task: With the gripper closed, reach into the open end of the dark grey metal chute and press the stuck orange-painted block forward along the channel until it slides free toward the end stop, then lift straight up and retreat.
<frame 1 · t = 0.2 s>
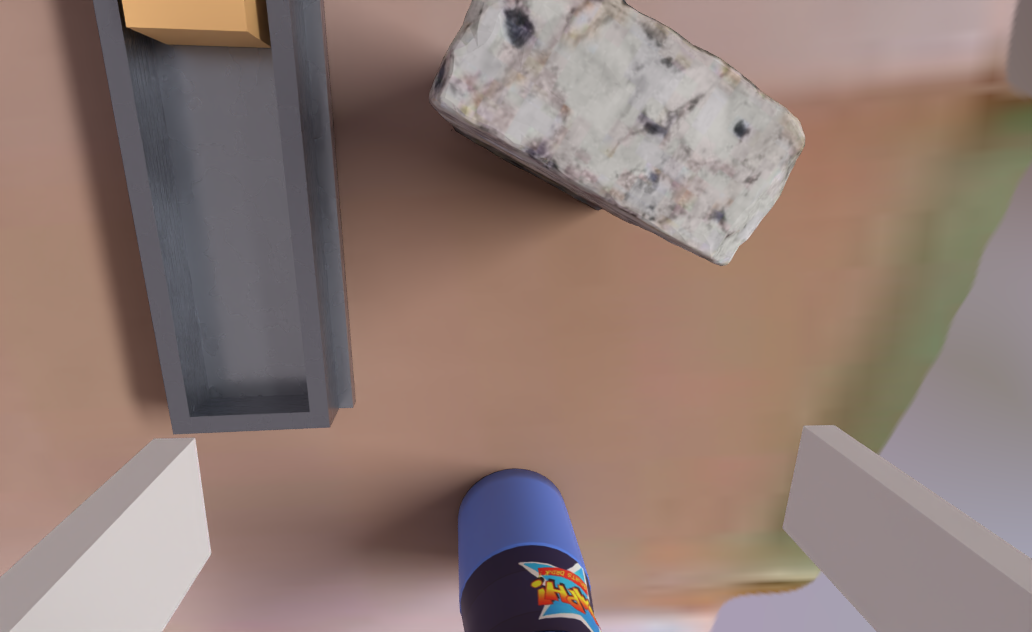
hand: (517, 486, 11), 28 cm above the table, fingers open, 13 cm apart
water bottle: (511, 514, 44), on the table
stone block: (543, 140, 36), on the table
chute: (244, 183, 35), on the table
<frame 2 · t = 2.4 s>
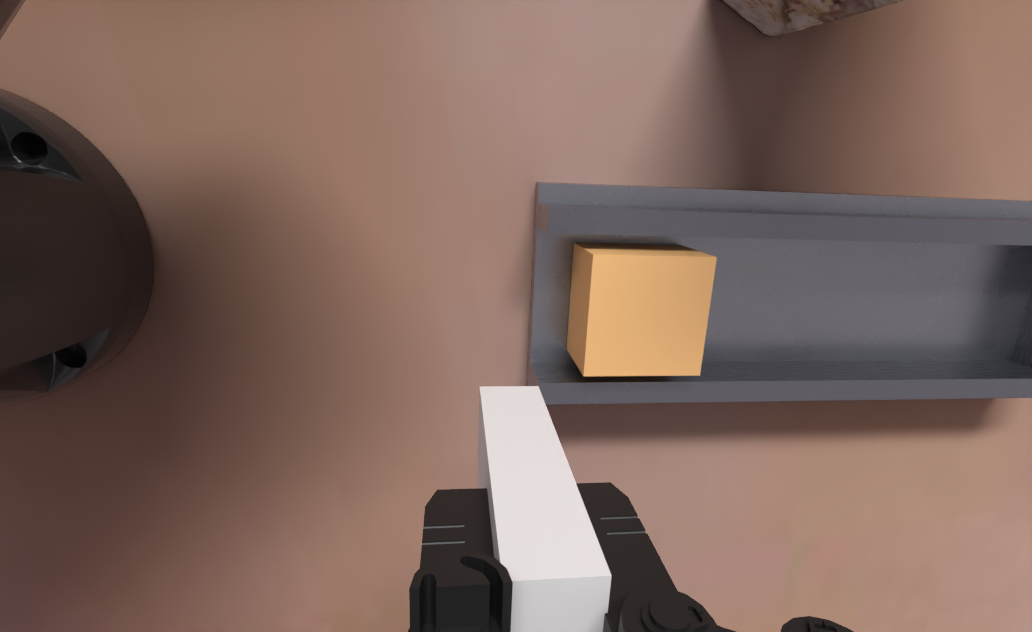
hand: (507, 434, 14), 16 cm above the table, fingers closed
block: (635, 307, 27), point 3 cm above the table, slide at 0.0 cm
chute: (795, 295, 31), on the table
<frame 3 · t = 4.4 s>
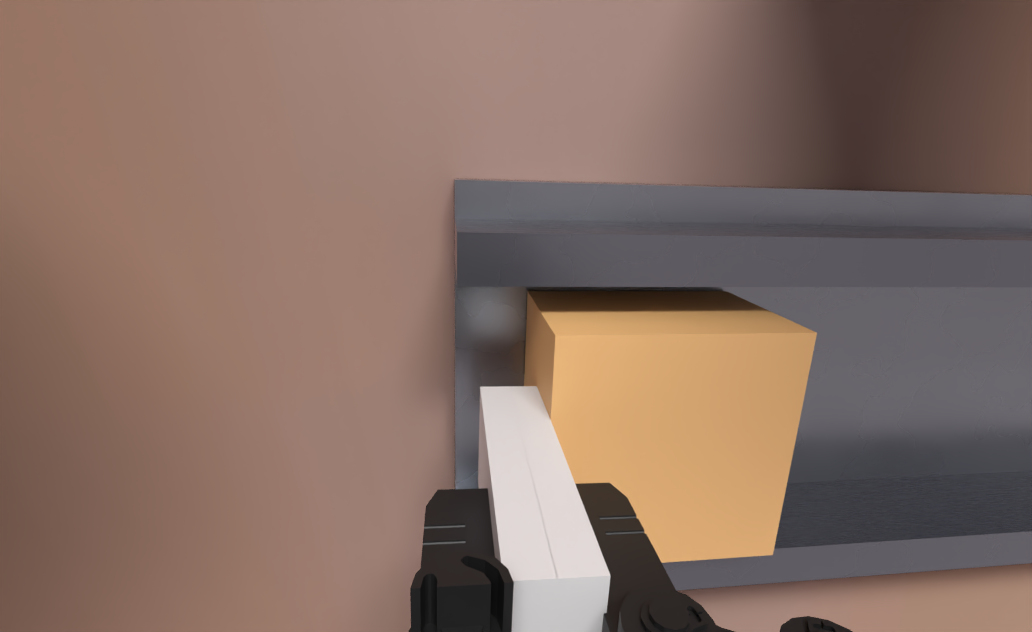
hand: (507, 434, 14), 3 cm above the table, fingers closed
block: (644, 416, 14), point 3 cm above the table, slide at 0.0 cm, touching gripper
chute: (910, 366, 18), on the table
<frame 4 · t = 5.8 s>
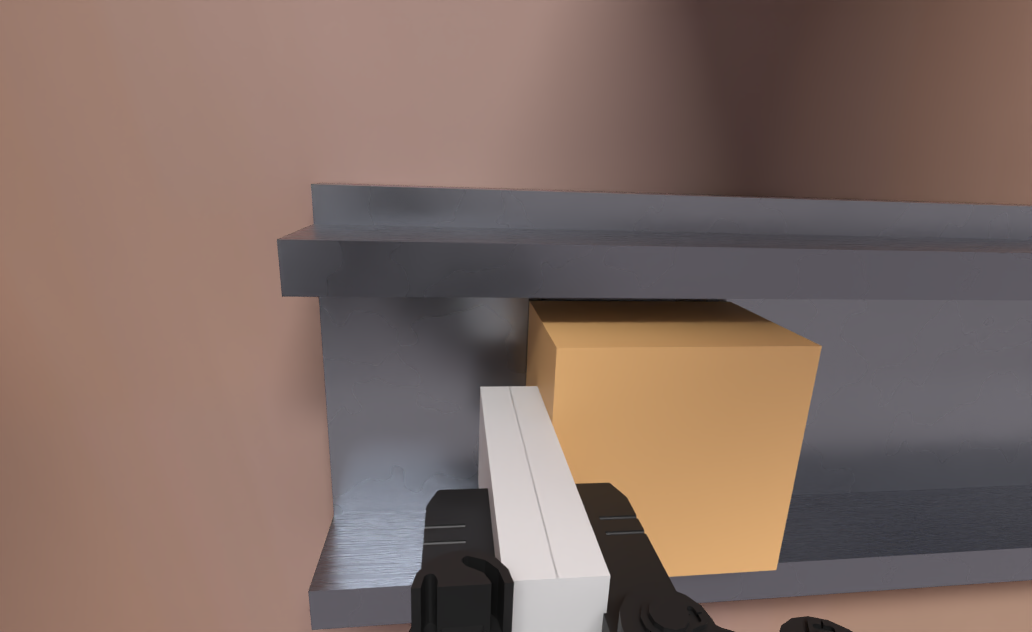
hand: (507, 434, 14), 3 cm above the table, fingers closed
block: (646, 428, 14), point 3 cm above the table, slide at 3.7 cm, touching gripper
chute: (819, 379, 18), on the table
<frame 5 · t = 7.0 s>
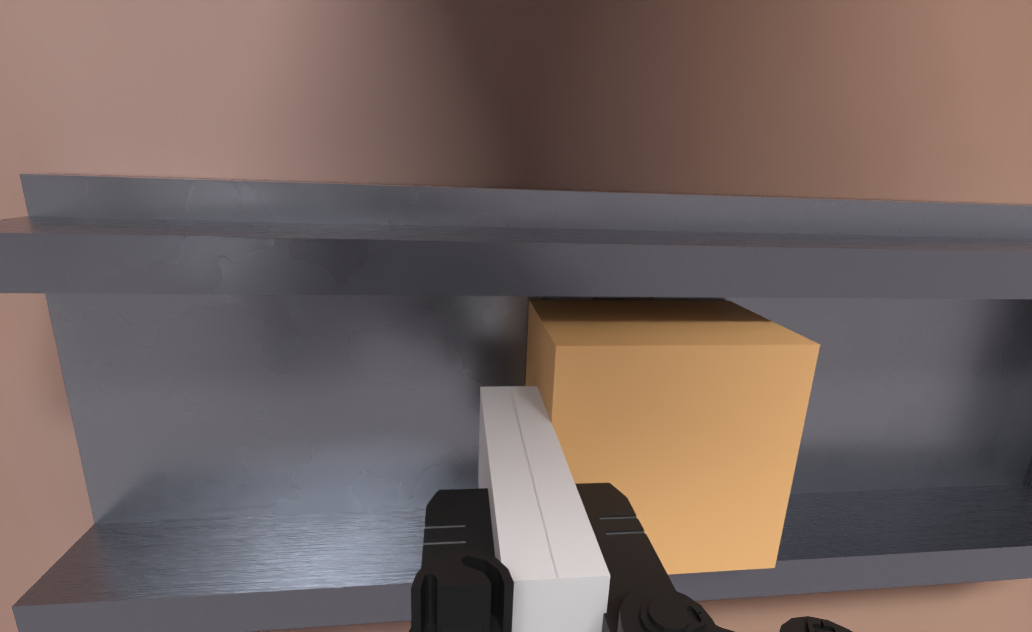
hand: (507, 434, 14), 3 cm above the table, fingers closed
block: (645, 426, 14), point 3 cm above the table, slide at 10.5 cm, touching gripper
chute: (628, 381, 17), on the table
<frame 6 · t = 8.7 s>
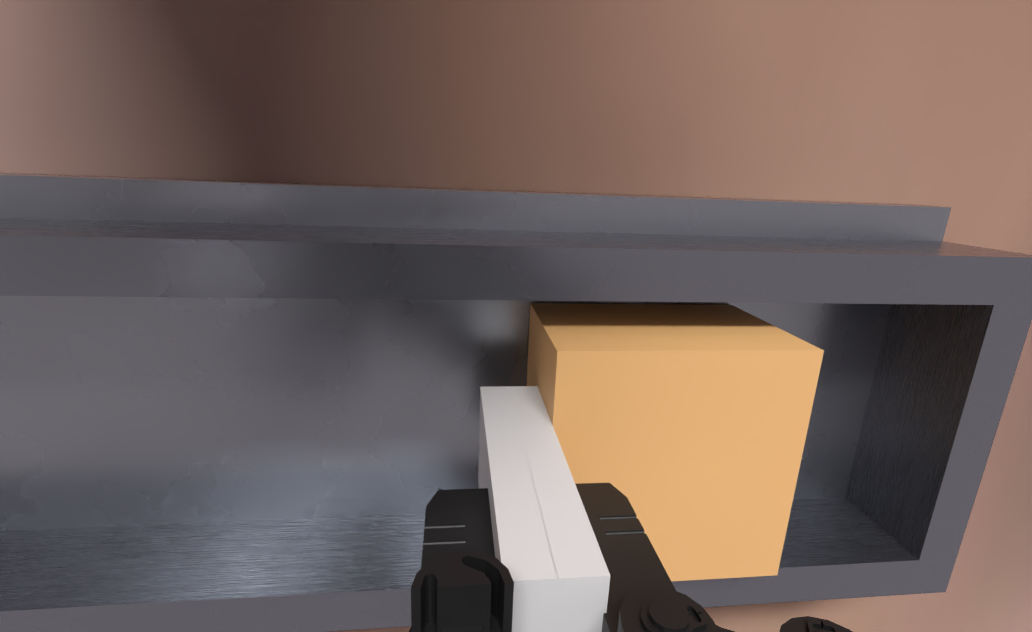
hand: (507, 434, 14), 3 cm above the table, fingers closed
block: (647, 432, 14), point 3 cm above the table, slide at 17.6 cm, touching gripper
chute: (406, 387, 16), on the table
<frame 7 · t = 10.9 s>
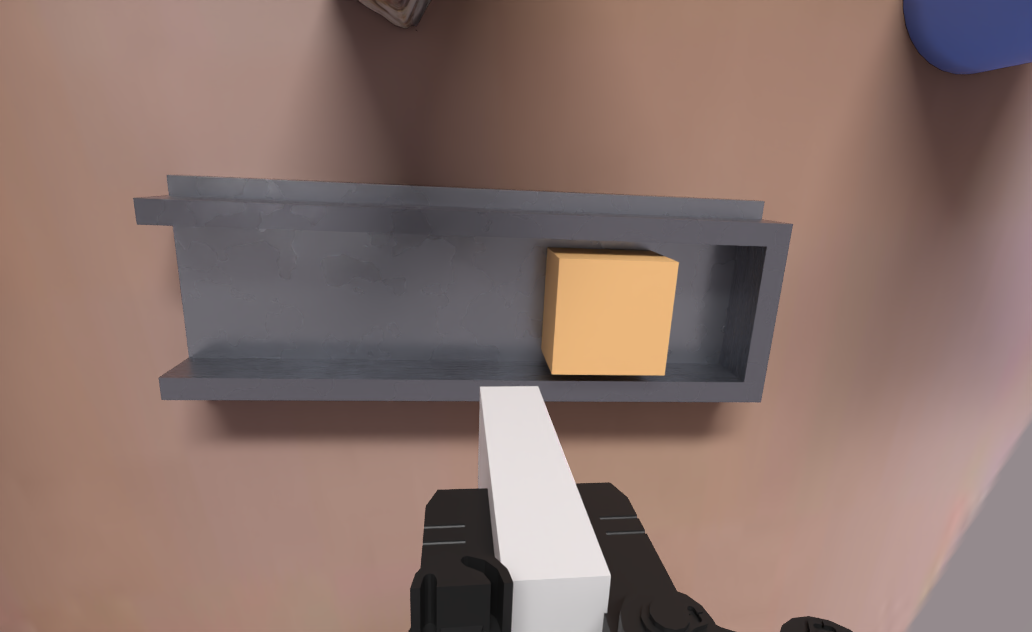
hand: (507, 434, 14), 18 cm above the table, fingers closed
block: (604, 309, 28), point 3 cm above the table, slide at 17.7 cm
chute: (478, 293, 31), on the table
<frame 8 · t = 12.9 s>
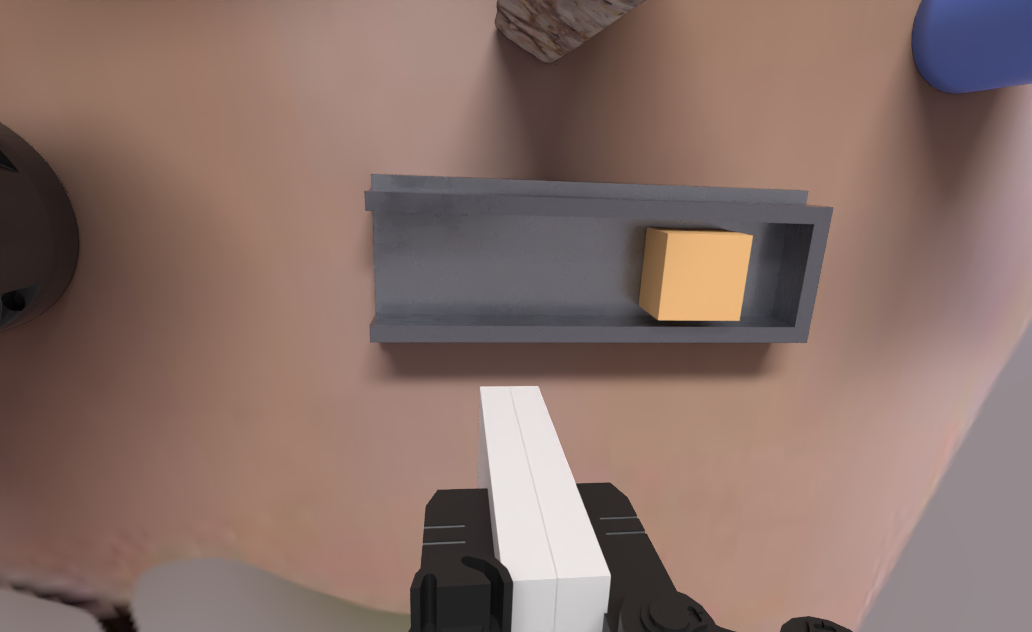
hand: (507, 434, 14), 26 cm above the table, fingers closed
water bottle: (966, 28, 39), on the table
block: (692, 272, 38), point 3 cm above the table, slide at 17.7 cm
chute: (590, 263, 40), on the table
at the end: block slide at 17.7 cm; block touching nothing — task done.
